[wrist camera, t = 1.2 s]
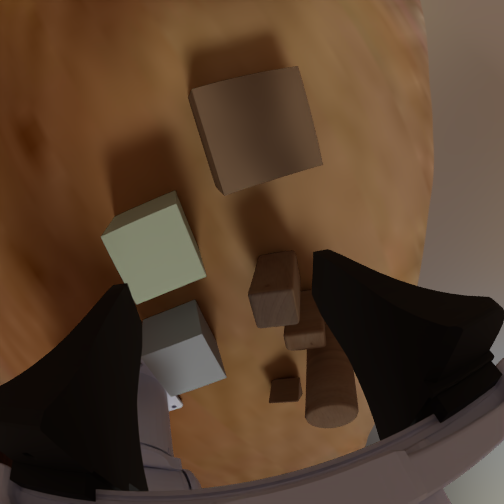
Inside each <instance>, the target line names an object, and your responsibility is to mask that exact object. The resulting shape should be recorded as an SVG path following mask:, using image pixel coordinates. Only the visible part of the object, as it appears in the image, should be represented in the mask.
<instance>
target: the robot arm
mask: <svg viewBox="0 0 504 504" xmlns="http://www.w3.org/2000/svg"><path fill="white" fill-rule="evenodd" d="M312 296H313V299H314V301H315V303H316V306H317V308H318V310H319V312H320V314H321V316H322V317H323V319H324V321H325V322H326V324H327V325H328V327H329V329H330V330H331V332H332V333H333V335H334V337H335V338H336V340H337V341H338V343H339V344H340V346H341V348H342V349H343V351H344V352H345V354H346V356H347V358H348V359H349V361H350V363H351V365H352V367H353V370H354V372H355V374H356V376H357V378H358V380H359V383H360V385H361V388H362V390H363V392H364V395H365V397H366V400H367V402H368V405H369V408H370V411H371V413H372V416H373V419H374V422H375V425H376V428H377V432H378V435H379V438H380V441H379V442H376V443H374V444H372V445H370V446H367V447H365V448H362V449H360V450H357V451H355V452H352V453H349V454H347V455H344V456H341V457H338V458H336V459H333V460H330V461H327V462H324V463H321V464H318V465H314V466H311V467H308V468H304V469H301V470H297V471H294V472H290V473H286V474H282V475H278V476H274V477H269V478H265V479H260V480H255V481H250V482H244V483H239V484H232V485H226V486H219V487H211V488H201V485H200V483H199V481H198V479H197V478H196V477H195V476H194V474H193V473H192V472H191V471H190V470H186V469H182V465H181V459H180V458H174V455H173V447H172V438H171V429H170V419H169V411H171V410H174V409H178V408H181V407H182V406H183V403H182V401H181V400H180V398H179V397H178V396H177V395H176V396H173V397H171V396H170V395H169V394H168V393H167V391H166V390H165V389H164V388H163V386H162V385H161V384H160V383H159V381H158V380H157V379H156V377H155V376H154V375H153V373H152V372H151V371H150V369H149V368H148V367H147V365H146V364H145V363H144V361H143V360H142V359H141V355H142V322H141V320H140V317H139V314H138V312H137V309H136V306H135V303H134V300H133V298H132V295H131V292H130V289H129V286H128V283H124V284H118V285H113V286H112V287H111V288H110V289H109V290H108V291H107V292H106V293H105V294H104V295H103V296H102V298H101V299H100V300H99V301H98V302H97V303H96V305H95V306H94V307H93V308H92V309H91V310H90V311H89V313H88V314H87V315H86V316H85V317H84V318H83V319H82V320H81V322H80V323H79V324H78V325H77V326H76V327H75V328H74V329H73V330H72V331H71V332H70V334H69V335H68V336H67V337H66V338H65V339H63V340H62V341H61V342H60V343H59V344H58V345H57V346H56V347H55V348H54V349H53V350H52V351H50V352H49V353H48V354H47V355H45V356H44V357H43V358H42V359H40V360H39V361H38V362H37V363H35V364H34V365H33V366H31V367H30V368H29V369H27V370H26V371H24V372H23V373H21V374H20V375H18V376H17V377H15V378H13V379H12V380H10V381H8V382H7V383H5V384H3V385H1V386H0V451H1V452H2V453H3V454H5V455H6V456H7V457H8V458H10V459H11V460H12V461H13V462H12V467H9V466H7V465H5V464H2V463H0V504H451V502H450V501H449V499H448V497H447V496H446V493H445V492H444V490H443V488H444V487H445V486H447V485H448V484H450V483H451V482H452V481H454V480H455V479H457V478H458V477H459V476H461V475H462V474H464V473H465V472H466V471H467V470H469V469H470V468H471V467H473V466H474V465H475V464H477V463H478V462H479V461H480V460H481V459H483V458H484V457H485V456H486V455H487V454H489V453H490V452H491V451H492V450H493V449H494V448H495V447H496V446H498V445H499V444H500V443H501V442H502V441H503V440H504V358H503V359H502V360H501V361H500V362H499V363H498V364H497V365H496V366H495V365H494V364H493V363H492V360H493V358H494V355H493V354H492V353H491V351H490V348H491V346H492V344H493V343H494V341H495V339H496V337H497V335H498V333H499V331H500V329H501V327H502V324H503V321H504V310H503V308H502V307H501V306H500V305H499V304H498V303H496V302H495V301H494V300H493V299H492V298H490V297H480V296H464V295H457V294H450V293H445V292H439V291H435V290H430V289H426V288H422V287H418V286H415V285H412V284H409V283H406V282H403V281H399V280H397V279H394V278H391V277H389V276H387V275H384V274H382V273H379V272H377V271H375V270H372V269H370V268H368V267H366V266H364V265H362V264H359V263H357V262H355V261H353V260H351V259H349V258H347V257H345V256H343V255H340V254H338V253H336V252H333V251H331V250H328V249H327V250H321V251H315V252H313V277H312ZM141 363H142V364H141Z"/></svg>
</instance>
